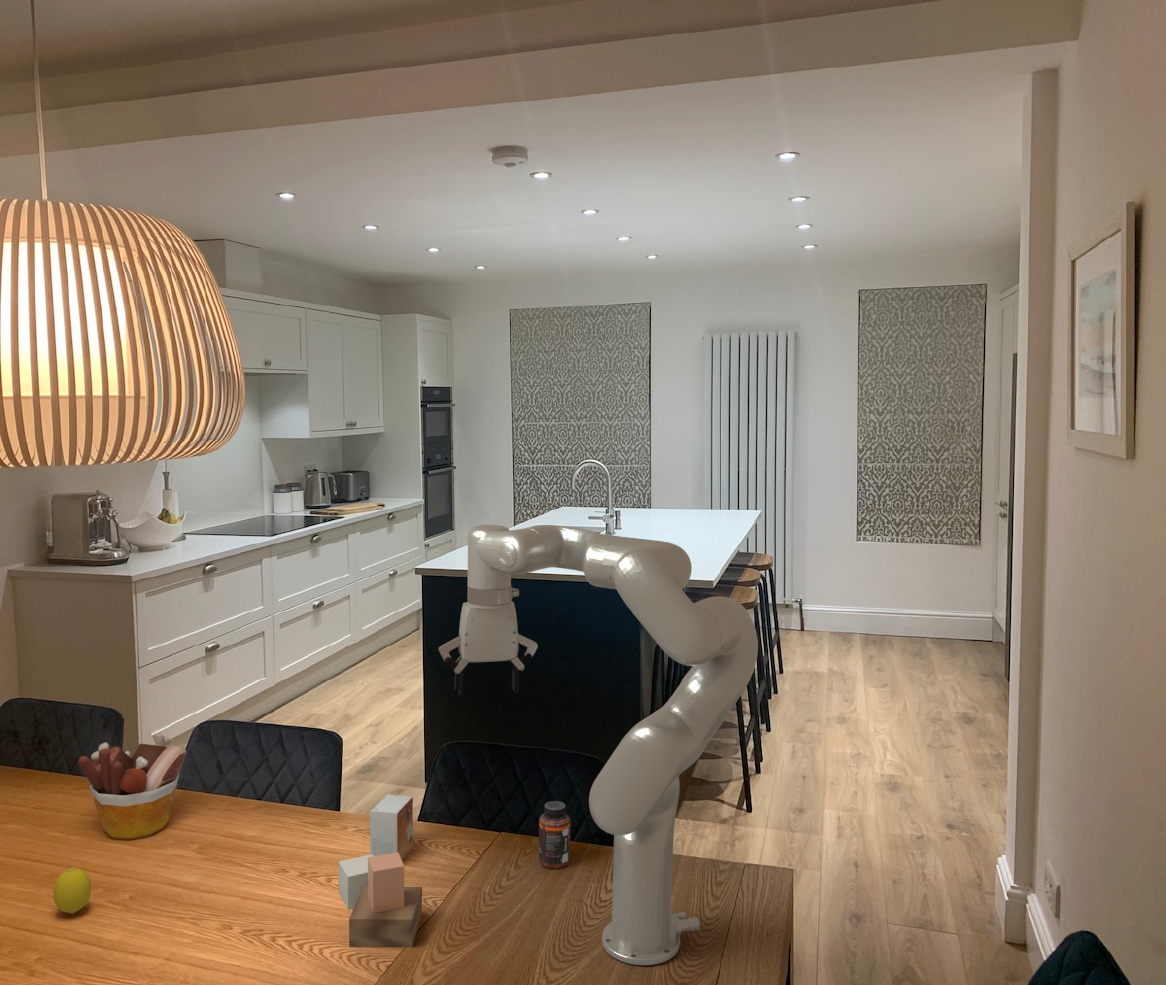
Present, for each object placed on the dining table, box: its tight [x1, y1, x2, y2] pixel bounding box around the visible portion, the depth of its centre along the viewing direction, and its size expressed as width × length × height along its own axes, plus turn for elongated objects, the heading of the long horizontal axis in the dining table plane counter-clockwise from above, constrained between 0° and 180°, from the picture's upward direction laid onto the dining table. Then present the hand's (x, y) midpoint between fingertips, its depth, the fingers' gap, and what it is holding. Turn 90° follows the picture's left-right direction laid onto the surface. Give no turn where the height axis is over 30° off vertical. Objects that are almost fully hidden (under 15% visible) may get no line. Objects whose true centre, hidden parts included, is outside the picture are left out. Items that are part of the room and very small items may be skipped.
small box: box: [369, 794, 414, 861], centre depth 175 cm, size 8×6×10 cm
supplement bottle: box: [538, 800, 571, 869], centre depth 173 cm, size 6×6×11 cm
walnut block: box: [348, 886, 423, 948], centre depth 150 cm, size 10×10×5 cm
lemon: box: [53, 867, 92, 915], centre depth 153 cm, size 6×6×8 cm
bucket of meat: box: [77, 732, 187, 841], centre depth 183 cm, size 20×16×20 cm
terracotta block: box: [368, 852, 405, 913], centre depth 150 cm, size 5×5×7 cm
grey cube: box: [338, 853, 373, 911], centre depth 160 cm, size 6×6×6 cm
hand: (488, 691), depth 160 cm, fingers open, 9 cm apart
